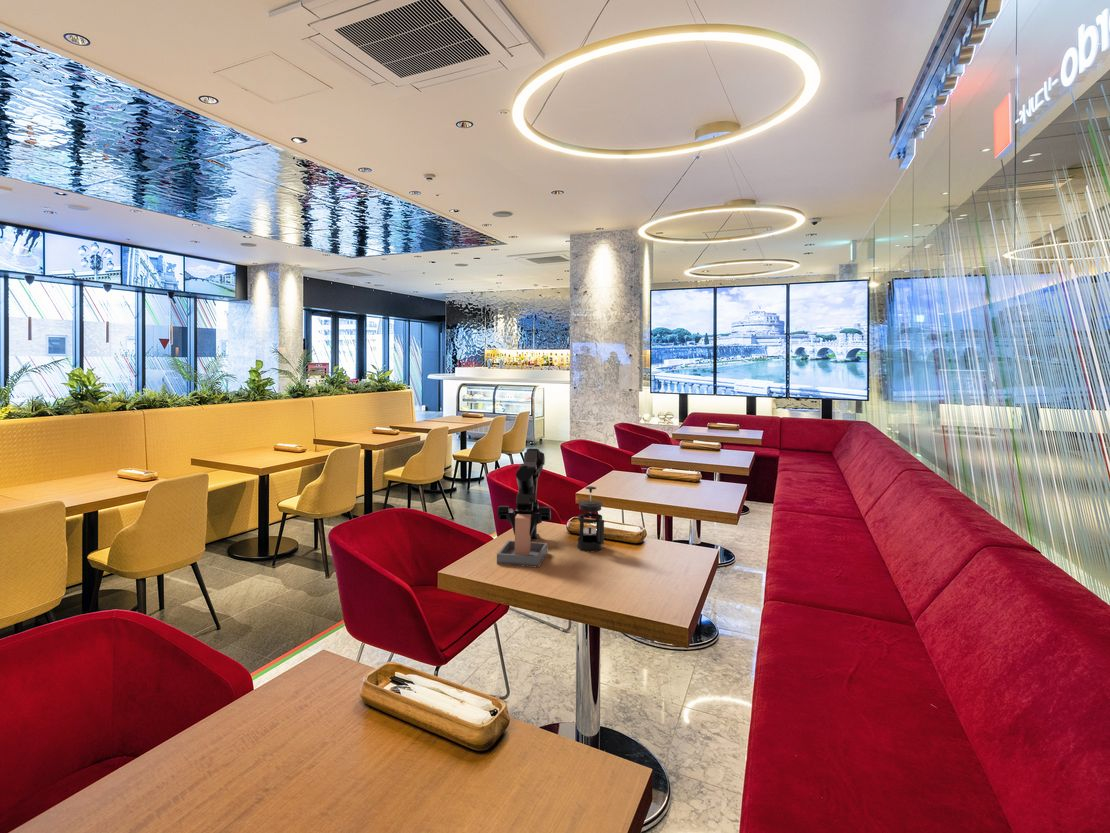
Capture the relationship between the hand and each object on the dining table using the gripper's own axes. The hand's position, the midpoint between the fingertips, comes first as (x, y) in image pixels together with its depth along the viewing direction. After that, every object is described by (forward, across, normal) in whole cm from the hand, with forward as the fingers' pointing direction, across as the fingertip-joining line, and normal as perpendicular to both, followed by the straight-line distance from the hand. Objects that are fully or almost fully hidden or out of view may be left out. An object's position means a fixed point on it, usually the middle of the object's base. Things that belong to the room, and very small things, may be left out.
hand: (522, 534), depth 196 cm
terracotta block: (+4, 0, +6) cm, 7 cm away
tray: (+5, 0, +7) cm, 9 cm away
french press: (-4, +24, +16) cm, 29 cm away
